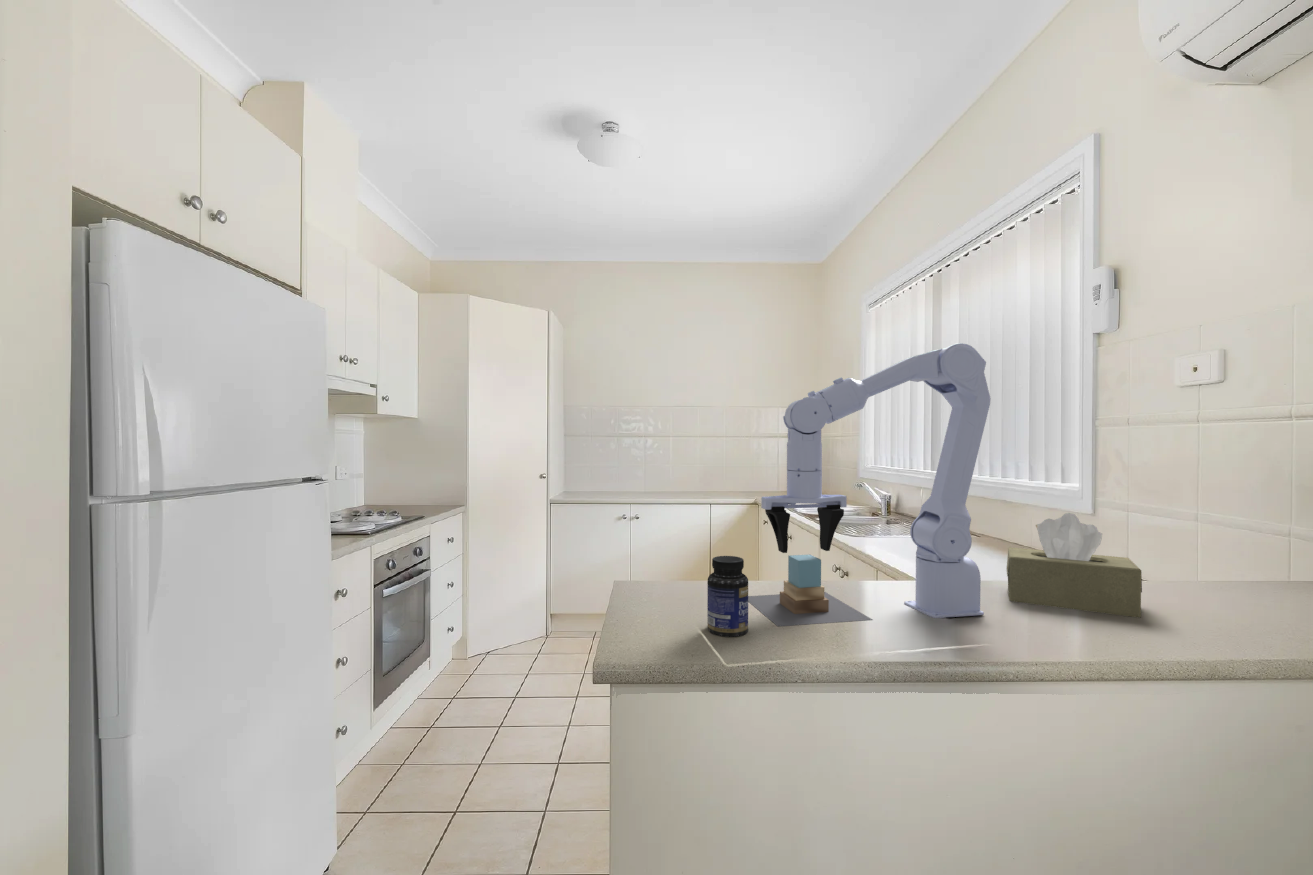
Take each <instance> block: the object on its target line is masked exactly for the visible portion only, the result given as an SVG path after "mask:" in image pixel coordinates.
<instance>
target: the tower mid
mask: <svg viewBox="0 0 1313 875" xmlns="http://www.w3.org/2000/svg"><path fill="white" fill-rule="evenodd" d="M783 591H784V593H786V594H787V595H788V596H790V597H791V598H793V599H794V600H796V601H800V600H817V599H824V592H825V586H824V585H822V584H821V587H807V588H798V587H796V586H795V585H793V584H791V583H790V582H788V580H783Z"/></svg>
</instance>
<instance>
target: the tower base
mask: <svg viewBox="0 0 1313 875" xmlns="http://www.w3.org/2000/svg"><path fill="white" fill-rule="evenodd" d="M779 594H780V604H782V605H783V606H784V607H786V608H787V609H788V610H790V611H791V612H792V613H794V614H802V613H818V612H829V600H828V599H827V598H825V597H824V599H817V600H800V601H796V600H794V599H793V598H791V597H790V596H788V595H787V594H786V593H784V590H783V591H779Z"/></svg>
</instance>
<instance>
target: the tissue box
mask: <svg viewBox="0 0 1313 875" xmlns="http://www.w3.org/2000/svg"><path fill="white" fill-rule="evenodd" d="M1035 527H1036V530H1037V533H1038V537H1039V541H1040V544H1041V548H1042V549H1033V548H1024V547H1023V548H1022V547H1021V548H1020V547H1011V546H1009V547H1008V548H1007V559H1006V560H1007V562H1006V577H1007V592H1008V593H1007V594H1008V601H1009V602H1012V603H1013V602H1014V603H1021V604H1022V603H1023V604H1028V605H1029V604H1031V605H1037V606H1047V607H1052V608H1053V607H1054V608H1061V609H1062V608H1063V609H1068V610H1077V611H1085V612H1094V613H1099V614H1100V613H1101V614H1107V615H1116V616H1124V617H1133V618H1138V619H1139V618H1141V616H1142V615H1141V613H1142V612H1141V611H1142V610H1141V608H1142V593H1143V588H1142V587H1143V583H1142V582H1143V581H1142V578H1143V577H1142V575H1143V574H1142V570H1141V569H1140V568H1139V567H1138V566H1137V565H1136V564H1135V563H1134V561H1132V559H1130V558H1129V557H1125V556H1112V555H1101V554H1095V552H1096V550H1097V549H1098V548H1099V546H1101V543H1102V538H1103V533H1102V532H1100V531H1099V530H1098V527H1097V526H1095V525H1094V524H1086V523H1083V522H1081V521H1080V519H1079V517H1077V515H1076V513H1071V512H1067V513H1064V514H1062V516H1060V517H1058V518H1056V519H1055V518H1054V519H1053V518H1047V519H1044V520H1043V521H1042V522H1041V523H1037V524H1035Z"/></svg>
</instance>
